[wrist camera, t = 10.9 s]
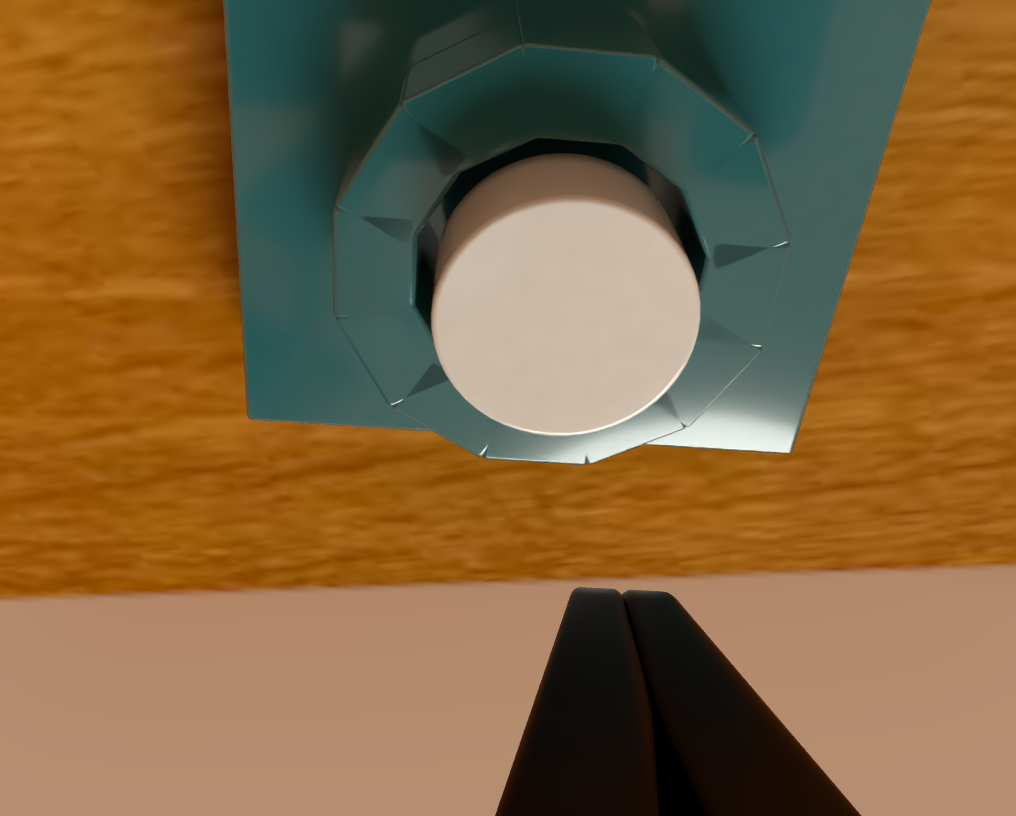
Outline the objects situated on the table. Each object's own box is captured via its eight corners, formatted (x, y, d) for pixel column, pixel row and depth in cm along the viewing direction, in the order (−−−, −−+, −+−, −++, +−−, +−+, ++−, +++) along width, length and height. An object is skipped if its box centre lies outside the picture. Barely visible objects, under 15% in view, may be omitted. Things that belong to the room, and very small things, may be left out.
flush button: (655, 382, 16) (674, 446, 14) (429, 367, 15) (424, 429, 14) (701, 162, 14) (728, 208, 12) (442, 140, 13) (437, 184, 12)
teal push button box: (764, 393, 20) (821, 517, 17) (268, 360, 19) (224, 483, 16) (967, -340, 14) (1129, -380, 10) (234, -433, 13) (147, -509, 9)
